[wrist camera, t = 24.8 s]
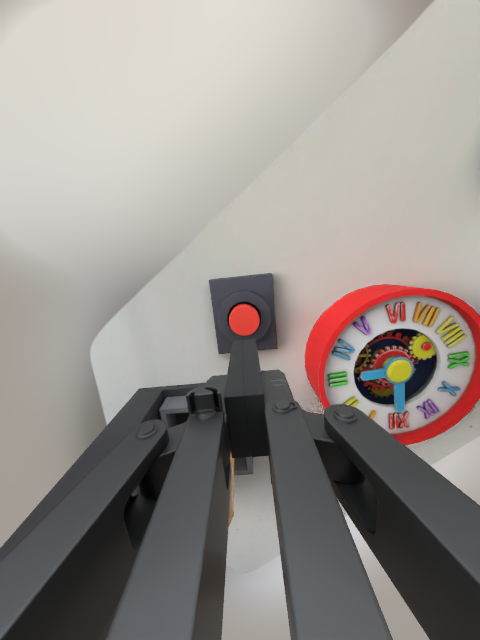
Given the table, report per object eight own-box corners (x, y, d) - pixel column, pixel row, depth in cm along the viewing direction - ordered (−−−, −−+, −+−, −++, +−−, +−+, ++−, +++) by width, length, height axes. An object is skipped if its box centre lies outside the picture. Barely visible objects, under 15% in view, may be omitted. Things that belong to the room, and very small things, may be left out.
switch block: (275, 344, 32) (279, 353, 28) (220, 349, 32) (217, 359, 29) (270, 273, 30) (274, 273, 26) (210, 279, 30) (206, 280, 27)
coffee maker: (252, 458, 36) (269, 811, 13) (156, 465, 37) (0, 813, 13) (244, 379, 33) (245, 653, 10) (138, 388, 34) (-104, 666, 10)
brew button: (259, 330, 28) (260, 334, 26) (231, 333, 28) (230, 337, 27) (257, 302, 27) (258, 304, 26) (228, 305, 28) (227, 307, 26)
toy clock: (499, 272, 23) (488, 434, 28) (449, 271, 29) (446, 405, 34) (308, 306, 25) (326, 456, 29) (296, 299, 30) (312, 425, 35)
